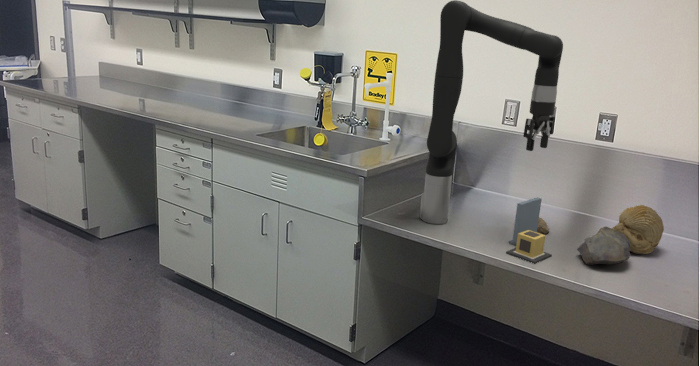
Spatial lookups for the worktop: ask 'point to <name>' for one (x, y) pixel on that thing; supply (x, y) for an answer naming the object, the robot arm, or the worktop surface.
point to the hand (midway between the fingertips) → (536, 149)
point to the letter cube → (530, 243)
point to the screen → (526, 217)
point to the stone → (605, 247)
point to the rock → (542, 226)
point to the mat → (527, 258)
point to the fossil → (641, 228)
